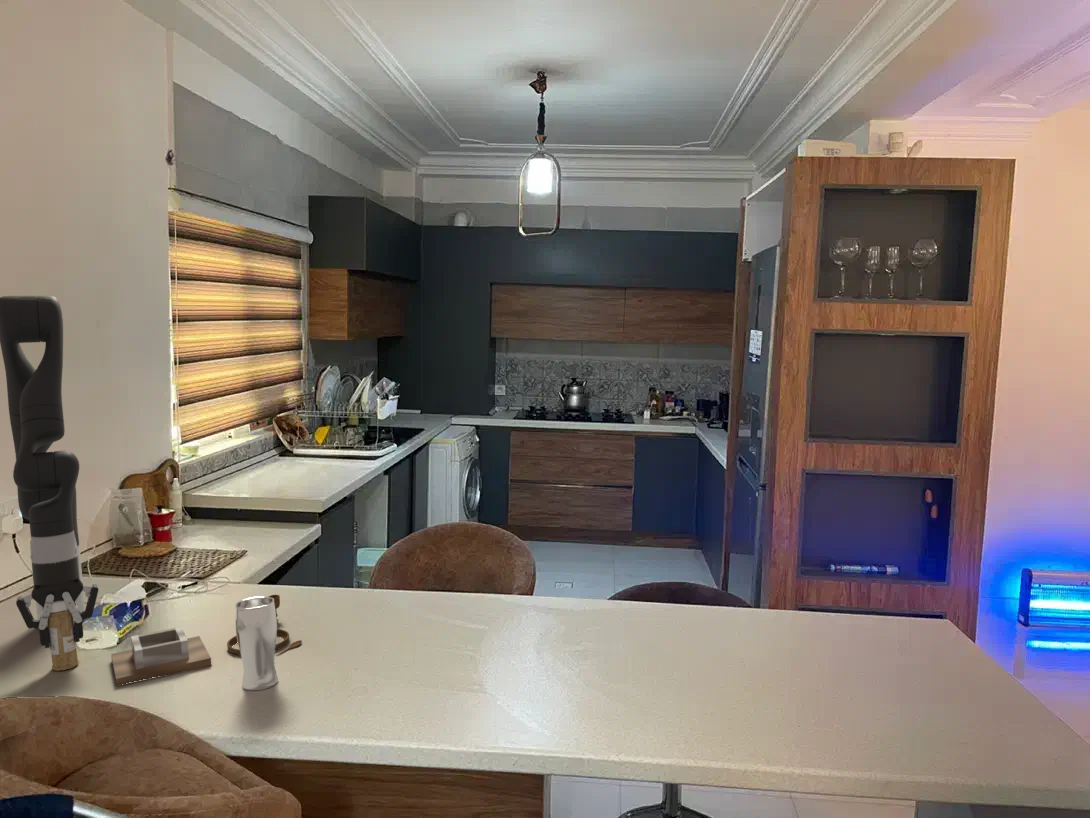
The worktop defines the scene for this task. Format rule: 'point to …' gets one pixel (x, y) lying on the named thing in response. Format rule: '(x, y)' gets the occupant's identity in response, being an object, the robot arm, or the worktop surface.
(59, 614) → the sprinkles bottle
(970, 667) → the worktop surface
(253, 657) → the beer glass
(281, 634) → the place setting
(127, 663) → the socket
